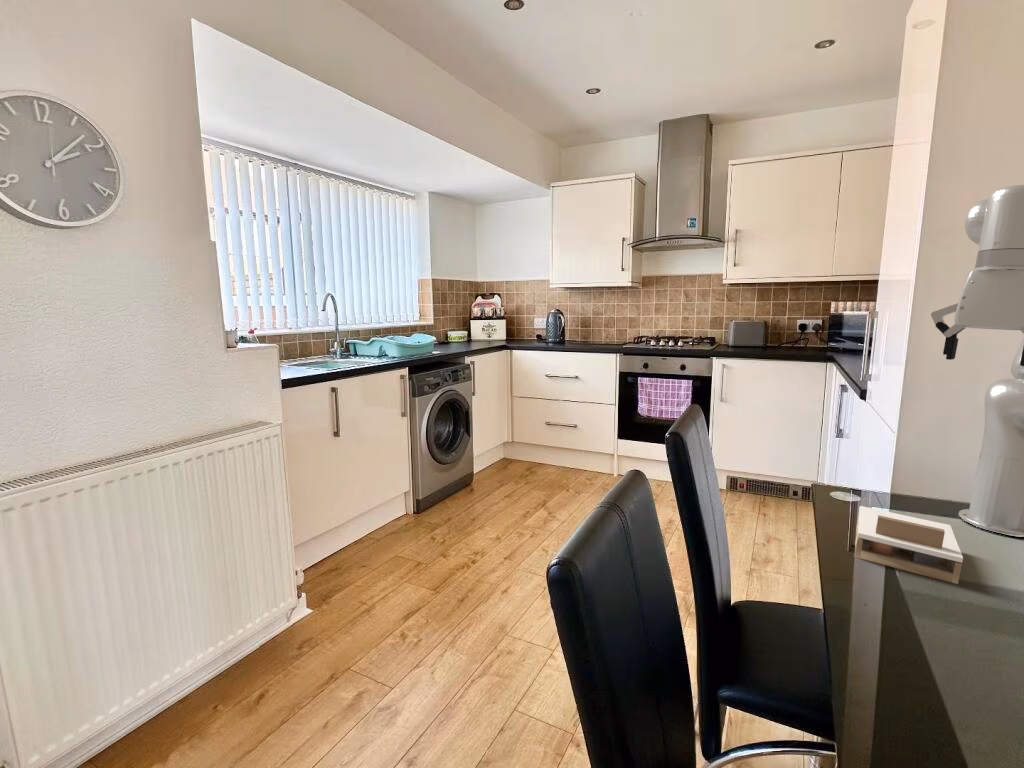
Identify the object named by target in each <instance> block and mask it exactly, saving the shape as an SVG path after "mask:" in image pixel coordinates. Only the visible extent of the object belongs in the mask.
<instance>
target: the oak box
mask: <svg viewBox="0 0 1024 768" xmlns="http://www.w3.org/2000/svg"><path fill="white" fill-rule="evenodd" d="M856 522H857V523H856V527H855V528H856V529H855V530H856V531H855V543H854V544H855V545H854V546H855V548H854V558H856V559H860V560H864V561H868V562H872V563H876V564H879V565H884V566H886V567H891V568H894V569H899V570H902V571H906V572H911V573H914V574H917V575H921V576H924V577H929V578H933V579H937V580H941V581H944V582H947V583H952V584H955V585H959V582H960V581H959V580H960V575H961V570H962V566H963V562H962V563H961V562H957V561H953V560H949V559H945V558H941V557H939V562H938V567H937V568H934V567H930V566H926V565H922V564H918V563H914V562H911V557H912V552H913V551H912V552H905V551H902V550H900V549H899V548H898V547H896V546H894V549H893V555H892V557H890V556H886V555H882V554H878V553H875V552H871V551H869V548H870V542H871V540H867V539H863V538H859V537H858V524H859V513H858V515H857V521H856Z"/></svg>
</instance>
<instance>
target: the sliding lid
mask: <svg viewBox="0 0 1024 768" xmlns="http://www.w3.org/2000/svg"><path fill="white" fill-rule="evenodd" d="M858 510H859V511H858V514H859V524H858V537H859V538H863V539H867V540H871V541H875V542H879V543H883V544H887V545H892V546H896V547H900V548H904V549H908V550H912V551H916V552H920V553H924V554H928V555H933V556H937V557H941V558H945V559H949V560H953V561H957V562H961V563H962V564H963V560H964V557H963V553H962V551H961V549H960V547H959V544H958V542H957V539H956V536H955V534H954V531H953V529H952V526H951V524H947V523H941V522H937V521H933V520H929V519H924V518H919V517H914V516H909V515H905V514H901V513H895V512H892V511H886V510H882V509H881V510H880V509H878V508H877V509H876V508H872V507H867V506H863V505H859V509H858Z"/></svg>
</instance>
